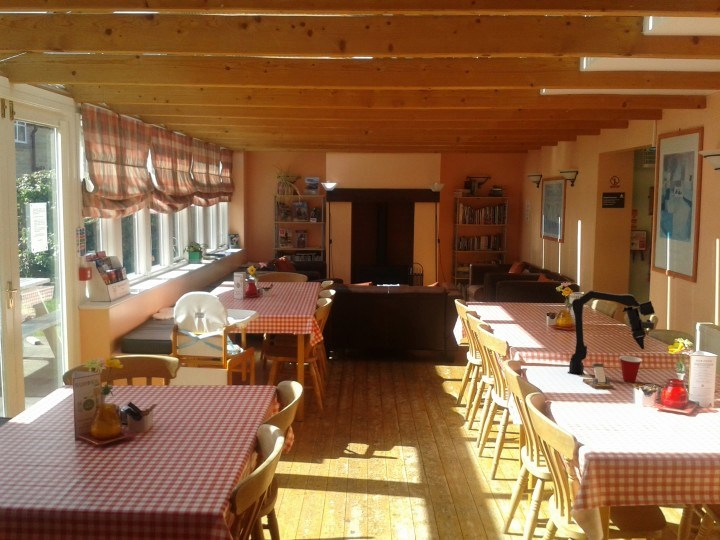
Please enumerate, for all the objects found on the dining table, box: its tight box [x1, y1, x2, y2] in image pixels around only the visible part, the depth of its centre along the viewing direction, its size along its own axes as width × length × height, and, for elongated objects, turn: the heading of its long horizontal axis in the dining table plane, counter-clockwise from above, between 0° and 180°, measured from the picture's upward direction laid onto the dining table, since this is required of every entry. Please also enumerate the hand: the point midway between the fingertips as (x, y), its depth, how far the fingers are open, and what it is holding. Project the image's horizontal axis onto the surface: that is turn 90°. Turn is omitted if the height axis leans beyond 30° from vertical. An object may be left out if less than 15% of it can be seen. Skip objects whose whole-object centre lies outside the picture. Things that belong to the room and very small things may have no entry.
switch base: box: [582, 377, 614, 390], centre depth 350 cm, size 16×9×4 cm, turn 4°
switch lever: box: [592, 363, 606, 383], centre depth 348 cm, size 2×5×10 cm
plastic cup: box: [618, 355, 643, 383], centre depth 361 cm, size 11×11×12 cm
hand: (642, 347), depth 367 cm, fingers open, 9 cm apart
